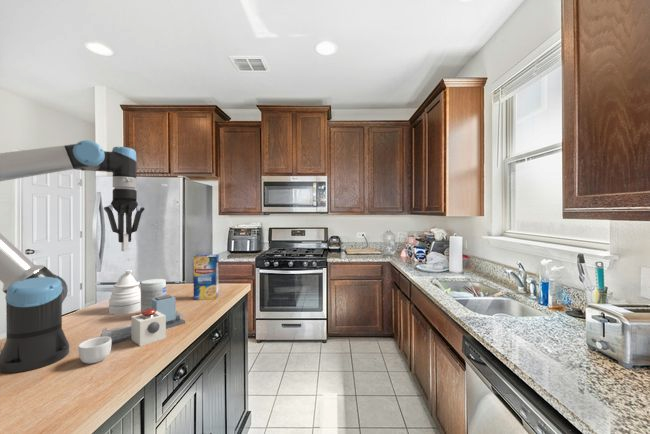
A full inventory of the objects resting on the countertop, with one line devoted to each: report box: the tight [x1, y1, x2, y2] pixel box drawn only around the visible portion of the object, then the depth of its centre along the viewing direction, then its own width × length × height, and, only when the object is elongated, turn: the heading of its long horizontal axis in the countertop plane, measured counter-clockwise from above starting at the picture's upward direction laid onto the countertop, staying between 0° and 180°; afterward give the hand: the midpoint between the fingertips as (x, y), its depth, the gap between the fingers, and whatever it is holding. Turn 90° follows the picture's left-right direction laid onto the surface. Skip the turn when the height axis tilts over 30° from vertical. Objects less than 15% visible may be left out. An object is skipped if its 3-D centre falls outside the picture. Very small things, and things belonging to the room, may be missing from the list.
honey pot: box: [108, 269, 141, 315], centre depth 132 cm, size 13×13×18 cm
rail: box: [100, 311, 186, 345], centre depth 109 cm, size 25×10×3 cm, turn 141°
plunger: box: [140, 309, 156, 320], centre depth 101 cm, size 4×4×8 cm
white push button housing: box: [130, 311, 167, 347], centre depth 101 cm, size 8×8×8 cm
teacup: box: [78, 336, 113, 365], centre depth 88 cm, size 10×8×5 cm
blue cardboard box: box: [193, 254, 220, 301], centre depth 151 cm, size 7×11×22 cm, turn 100°
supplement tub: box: [140, 278, 167, 312], centre depth 125 cm, size 10×10×15 cm
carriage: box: [152, 294, 177, 322], centre depth 114 cm, size 7×5×9 cm, turn 141°
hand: (124, 250), depth 110 cm, fingers closed
